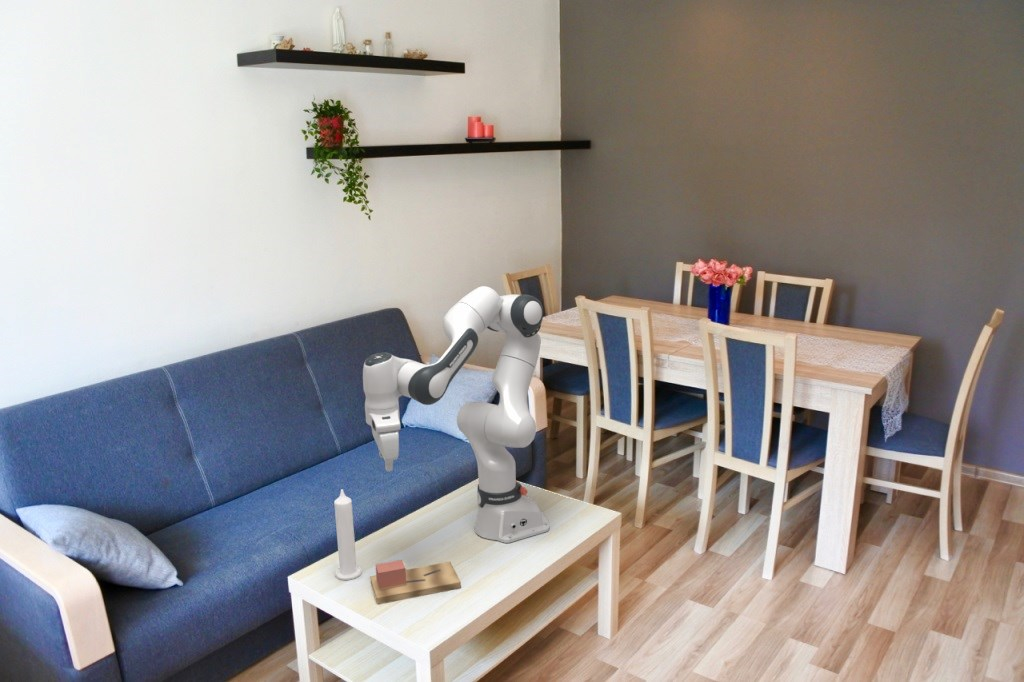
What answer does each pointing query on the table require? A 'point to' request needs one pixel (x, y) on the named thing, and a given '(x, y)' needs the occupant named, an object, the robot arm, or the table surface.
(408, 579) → the plank
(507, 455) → the robot arm
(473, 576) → the table surface
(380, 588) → the block
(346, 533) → the candle
